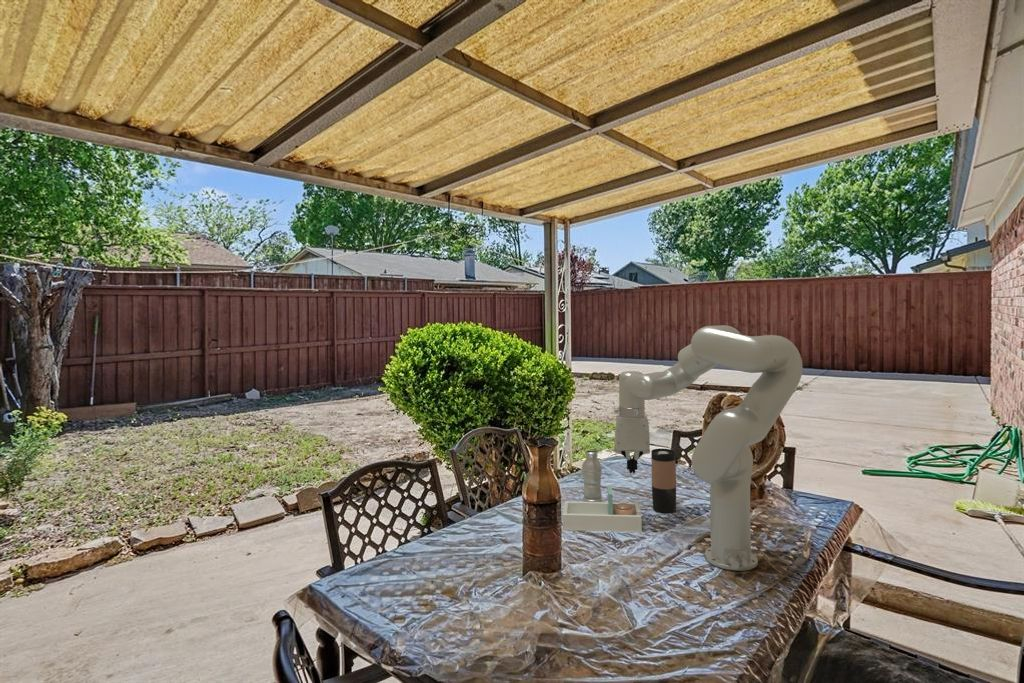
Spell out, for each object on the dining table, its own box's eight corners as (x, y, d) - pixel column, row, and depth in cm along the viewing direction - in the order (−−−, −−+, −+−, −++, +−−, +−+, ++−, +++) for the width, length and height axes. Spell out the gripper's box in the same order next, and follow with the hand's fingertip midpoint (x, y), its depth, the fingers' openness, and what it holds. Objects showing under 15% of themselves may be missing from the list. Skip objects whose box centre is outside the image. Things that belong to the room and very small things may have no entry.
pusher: (613, 527, 156) (612, 494, 156) (609, 527, 156) (608, 494, 156) (612, 517, 164) (611, 485, 164) (608, 517, 165) (607, 485, 164)
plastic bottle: (603, 515, 169) (601, 454, 168) (582, 514, 170) (580, 453, 170) (603, 508, 175) (602, 449, 175) (583, 507, 177) (582, 448, 176)
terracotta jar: (634, 527, 156) (634, 509, 156) (614, 527, 157) (614, 508, 157) (633, 520, 162) (632, 502, 162) (613, 519, 163) (613, 502, 163)
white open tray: (641, 534, 153) (641, 513, 153) (563, 532, 156) (562, 511, 156) (638, 519, 165) (637, 499, 165) (565, 517, 168) (564, 498, 168)
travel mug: (674, 507, 174) (672, 448, 173) (679, 516, 166) (677, 454, 166) (650, 507, 175) (649, 448, 174) (654, 516, 167) (653, 454, 166)
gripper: (607, 414, 156) (607, 475, 156) (658, 415, 153) (658, 476, 154) (606, 409, 163) (606, 467, 164) (655, 410, 161) (655, 469, 162)
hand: (632, 471), depth 159 cm, fingers closed
